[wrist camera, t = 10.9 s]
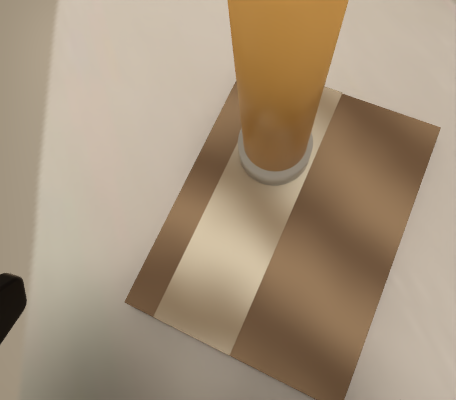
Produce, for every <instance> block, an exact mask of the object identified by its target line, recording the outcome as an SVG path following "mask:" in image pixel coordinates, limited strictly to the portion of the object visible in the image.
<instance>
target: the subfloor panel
mask: <svg viewBox="0 0 456 400" xmlns="http://www.w3.org/2000/svg"><path fill="white" fill-rule="evenodd" d="M241 128H242V126H241V117H240V108H239V99H238V90H237V81H236V82H235V84H234V86H233V88H232V90H231V92H230V94H229V96H228V98H227V100H226V102H225V104H224V106H223V108H222V110H221V112H220V114H219V116H218V118H217V120H216V122H215V124H214V126H213V128H212V130H211V132H210V134H209V136H208V138H207V140H206V142H205V144H204V146H203V148H202V150H201V152H200V154H199V156H198V158H197V159H196V161H195V163H194V165H193V167H192V169H191V171H190V173H189V175H188V177H187V179H186V181H185V183H184V185H183V187H182V189H181V191H180V193H179V195H178V197H177V199H176V201H175V203H174V205H173V207H172V209H171V211H170V213H169V215H168V217H167V219H166V221H165V223H164V225H163V227H162V229H161V231H160V233H159V235H158V237H157V239H156V241H155V243H154V245H153V247H152V249H151V251H150V253H149V255H148V256H147V258H146V260H145V262H144V264H143V266H142V268H141V270H140V272H139V274H138V276H137V278H136V280H135V282H134V284H133V286H132V288H131V290H130V292H129V294H128V296H127V298H126V300H125V303H127V304H129V305H131V306H133V307H135V308H137V309H139V310H141V311H143V312H145V313H147V314H149V315H150V316H152V317H154V318H156V319H158V320H160V321H162V322H164V323H166V324H168V325H170V326H172V327H174V328H176V329H178V330H179V331H181V332H183V333H185V334H187V335H189V336H191V337H193V338H195V339H197V340H199V341H201V342H203V343H205V344H207V345H209V346H211V347H213V348H215V349H217V350H219V351H221V352H223V353H225V354H227V355H229V356H231V357H233V358H235V359H237V360H239V361H241V362H243V363H245V364H247V365H249V366H251V367H253V368H255V369H257V370H259V371H261V372H263V373H265V374H267V375H269V376H271V377H273V378H275V379H277V380H279V381H281V382H283V383H285V384H287V385H289V386H291V387H293V388H295V389H297V390H299V391H301V392H303V393H305V394H307V395H308V396H310V397H312V398H314V399H316V400H344V398H345V396H346V393H347V390H348V387H349V384H350V382H351V379H352V376H353V373H354V370H355V368H356V365H357V362H358V359H359V356H360V353H361V351H362V348H363V345H364V342H365V339H366V337H367V334H368V331H369V328H370V325H371V323H372V320H373V317H374V314H375V311H376V308H377V306H378V303H379V300H380V297H381V294H382V292H383V289H384V286H385V283H386V280H387V278H388V275H389V272H390V269H391V266H392V263H393V261H394V258H395V255H396V252H397V249H398V247H399V244H400V241H401V238H402V235H403V233H404V230H405V227H406V224H407V221H408V218H409V216H410V213H411V210H412V207H413V204H414V202H415V199H416V196H417V193H418V190H419V188H420V185H421V182H422V179H423V176H424V173H425V171H426V168H427V165H428V162H429V159H430V157H431V154H432V151H433V148H434V145H435V143H436V140H437V137H438V134H439V131H440V127H437V126H435V125H432V124H429V123H426V122H423V121H420V120H417V119H414V118H411V117H408V116H406V115H403V114H400V113H397V112H394V111H391V110H388V109H385V108H382V107H379V106H377V105H374V104H371V103H368V102H365V101H362V100H359V99H356V98H353V97H350V96H347V95H345V94H342V92H339V91H336V90H333V89H330V88H327V87H324V89H323V92H322V96H321V99H320V103H319V106H318V110H317V113H316V117H315V121H314V124H313V128H312V131H311V132H312V136H313V148H312V152H311V155H310V158H309V162H308V164H307V167H306V169H305V170H304V172H303V173H302V174H301V175H300V176H299V177H298V178H296V179H295V180H294V181H292V182H290V183H287V184H284V185H278V186H271V185H265V184H262V183H259V182H257V181H256V180H254V179H253V178H251V177H250V176H249V175H248V174H247V173H246V171H245V170H244V168H243V167H242V164H241V161H240V156H239V149H238V137H239V133H240V130H241Z"/></svg>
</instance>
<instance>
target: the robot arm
mask: <svg viewBox="0 0 456 400" xmlns="http://www.w3.org/2000/svg"><path fill="white" fill-rule="evenodd" d="M26 302H27V299H26V294H25V288H24V282H23V279H22V278H21V277H19V276H16V275H13V274H9V273H3V274H0V344H1V343H2V341H3V340H4V338H5V337H6V335H7V334H8V332H9V331H10V330H11V328H12V327H13V325H14V324H15V322H16V321H17V319H18V318H19V316H20V315H21V314H22V312H23V311H24V308H25V306H26Z"/></svg>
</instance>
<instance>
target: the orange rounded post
mask: <svg viewBox="0 0 456 400" xmlns="http://www.w3.org/2000/svg"><path fill="white" fill-rule="evenodd" d="M347 4H348V0H228V9H229V18H230V27H231V36H232V45H233V54H234V63H235V72H236V81H237V90H238V99H239V108H240V117H241V126H242V128H241V130H240V133H239V137H238V149H239V156H240V161H241V164H242V167H243V168H244V170H245V171H246V173H247V174H248V175H249V176H250V177H251V178H253V179H254V180H256V181H257V182H259V183H262V184H265V185H271V186H278V185H284V184H287V183H290V182H292V181H294V180H295V179H296V178H298V177H299V176H300V175H301V174H302V173H303V172H304V170H305V169H306V167H307V164H308V162H309V158H310V155H311V152H312V148H313V136H312V132H311V131H312V128H313V124H314V121H315V117H316V113H317V110H318V106H319V103H320V99H321V96H322V92H323V89H324V85H325V82H326V78H327V75H328V71H329V67H330V64H331V60H332V57H333V53H334V50H335V46H336V43H337V39H338V36H339V32H340V29H341V25H342V21H343V18H344V14H345V11H346V7H347Z"/></svg>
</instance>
